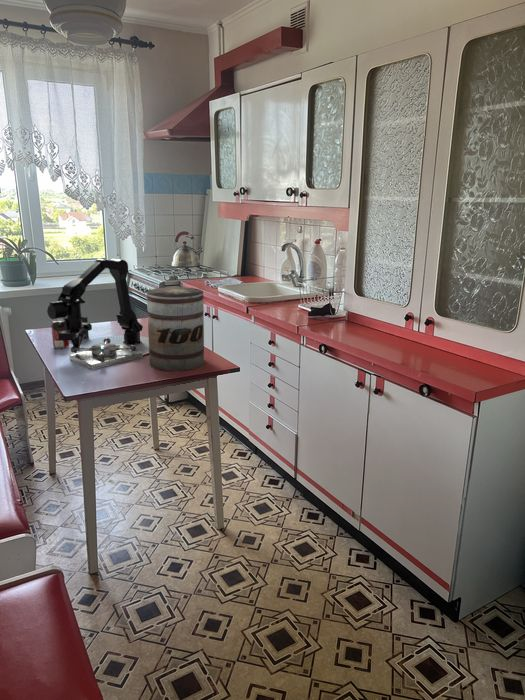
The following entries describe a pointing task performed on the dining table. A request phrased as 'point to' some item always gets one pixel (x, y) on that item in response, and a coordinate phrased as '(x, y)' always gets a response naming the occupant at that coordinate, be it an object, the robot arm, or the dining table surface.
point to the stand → (93, 363)
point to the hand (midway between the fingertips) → (76, 350)
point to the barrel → (175, 328)
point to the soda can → (57, 342)
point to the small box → (83, 329)
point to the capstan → (103, 349)
